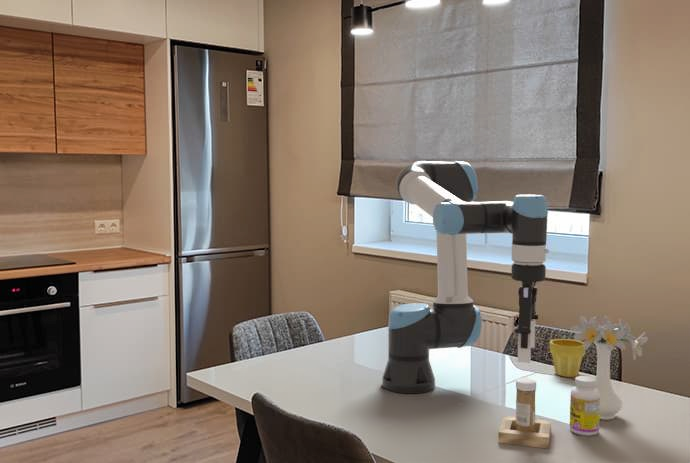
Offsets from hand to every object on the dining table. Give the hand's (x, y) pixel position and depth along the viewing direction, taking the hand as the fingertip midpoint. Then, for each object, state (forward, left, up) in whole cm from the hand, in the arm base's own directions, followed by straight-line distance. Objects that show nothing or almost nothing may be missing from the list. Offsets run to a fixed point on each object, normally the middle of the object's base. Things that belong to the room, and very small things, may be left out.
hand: (526, 354), depth 163 cm
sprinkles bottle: (0, 0, -20) cm, 20 cm away
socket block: (0, 0, -20) cm, 20 cm away
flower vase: (+18, +21, -20) cm, 34 cm away
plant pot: (+8, +57, -20) cm, 61 cm away
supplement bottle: (+13, +8, -20) cm, 25 cm away
